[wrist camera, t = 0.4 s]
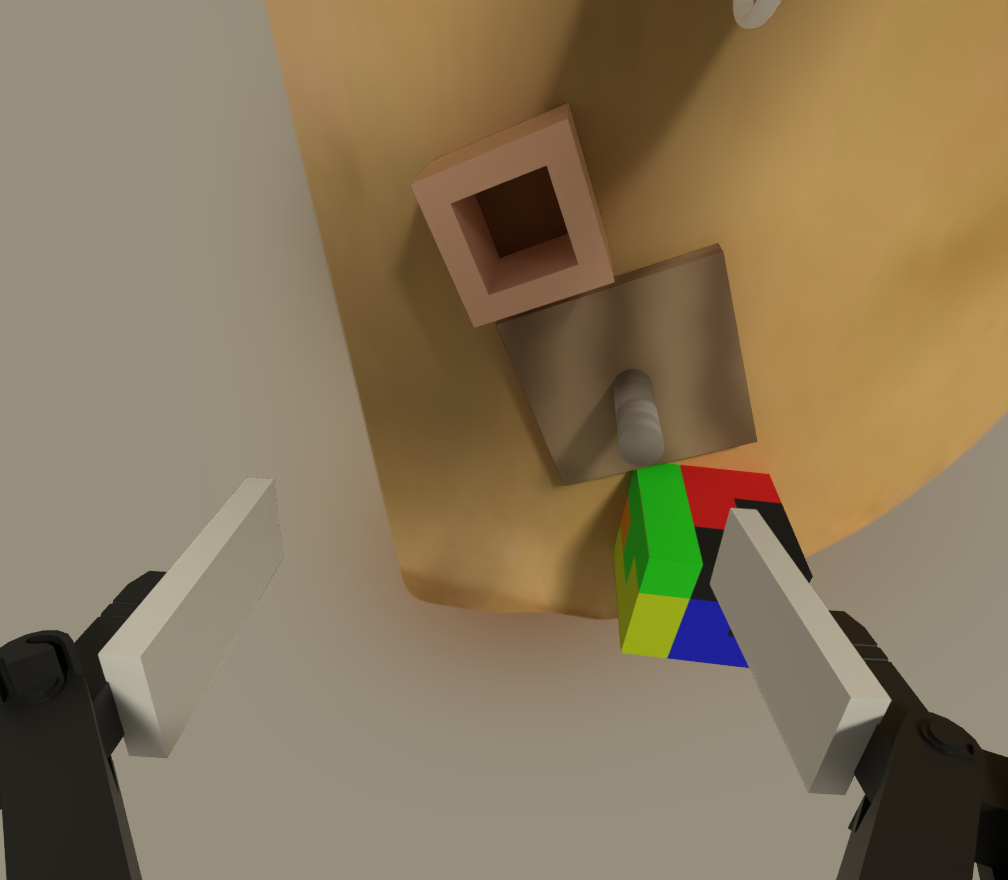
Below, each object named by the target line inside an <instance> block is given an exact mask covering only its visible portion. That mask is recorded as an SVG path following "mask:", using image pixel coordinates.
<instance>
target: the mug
mask: <svg viewBox="0 0 1008 880" xmlns="http://www.w3.org/2000/svg"><path fill="white" fill-rule="evenodd" d="M781 1H782V0H757V1H756V3H755V4H754V6H753V0H733V13H734V18H735V21H736V23H737V24H738V25H739V26H740V27H742V28H746V29H754V28H758V27H760V26H762V25H763V24H764V23H766V22H767V21H768V20H769V18H770V17H771V16H772V15H773V13H774V12H775V11H776V9H777V8H778V6H779V4H780V3H781Z"/></svg>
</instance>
